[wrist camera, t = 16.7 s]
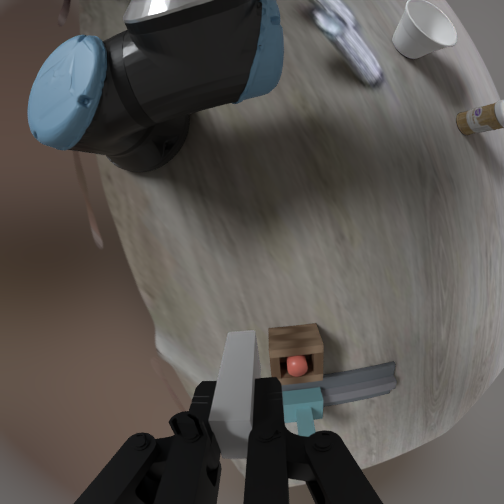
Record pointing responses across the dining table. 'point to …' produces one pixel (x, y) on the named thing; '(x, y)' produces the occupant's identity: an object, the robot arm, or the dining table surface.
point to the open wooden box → (296, 352)
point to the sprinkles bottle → (482, 118)
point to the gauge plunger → (297, 365)
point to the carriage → (303, 408)
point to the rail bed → (352, 384)
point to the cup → (423, 30)
